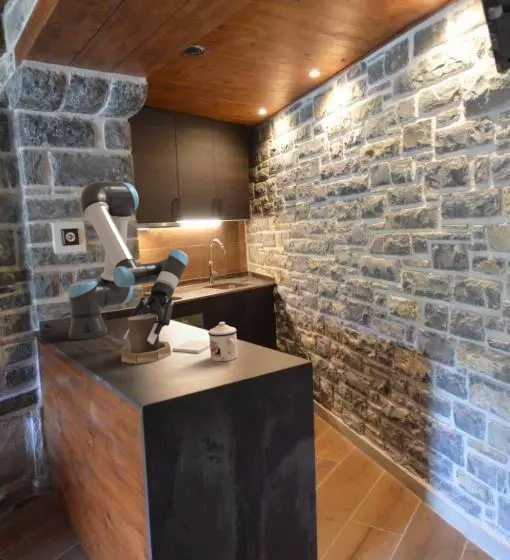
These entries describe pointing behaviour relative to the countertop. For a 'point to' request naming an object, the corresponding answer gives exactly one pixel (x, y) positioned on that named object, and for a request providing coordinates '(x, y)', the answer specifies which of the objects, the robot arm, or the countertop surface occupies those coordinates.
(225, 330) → the teacup with lid
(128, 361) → the holder ring
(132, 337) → the pillar candle
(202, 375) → the countertop surface
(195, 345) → the coaster
